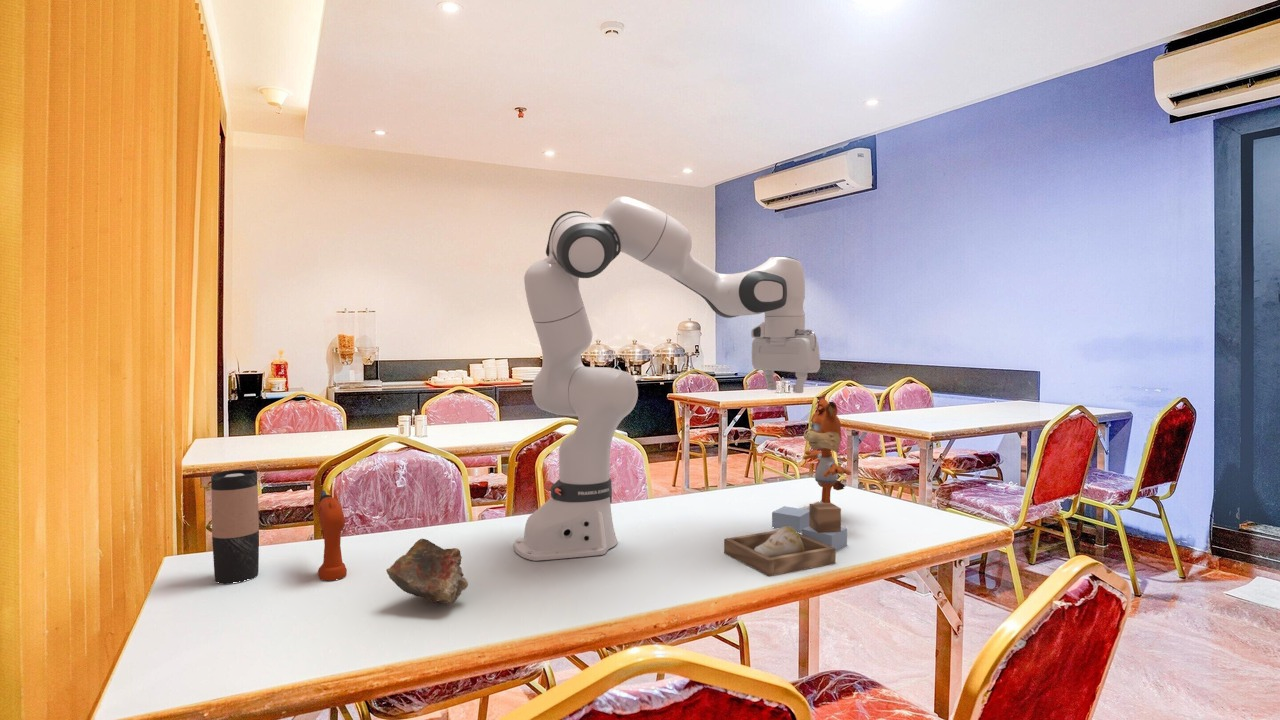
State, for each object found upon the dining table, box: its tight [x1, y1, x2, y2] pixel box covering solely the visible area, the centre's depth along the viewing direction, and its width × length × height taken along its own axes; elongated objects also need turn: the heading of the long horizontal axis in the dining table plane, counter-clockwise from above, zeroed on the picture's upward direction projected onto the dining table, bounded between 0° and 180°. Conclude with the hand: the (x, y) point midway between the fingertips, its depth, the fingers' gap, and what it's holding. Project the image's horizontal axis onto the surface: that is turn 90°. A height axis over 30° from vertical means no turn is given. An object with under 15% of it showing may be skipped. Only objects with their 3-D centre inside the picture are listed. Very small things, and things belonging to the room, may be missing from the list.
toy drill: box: [317, 489, 348, 581], centre depth 133 cm, size 5×19×15 cm, turn 32°
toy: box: [798, 396, 852, 510], centre depth 167 cm, size 30×11×30 cm, turn 178°
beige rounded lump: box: [754, 526, 805, 558], centre depth 135 cm, size 8×10×10 cm
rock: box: [386, 538, 469, 604], centre depth 115 cm, size 12×12×10 cm
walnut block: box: [808, 502, 842, 533], centre depth 145 cm, size 5×5×5 cm
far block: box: [771, 505, 809, 533], centre depth 160 cm, size 7×7×4 cm
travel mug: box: [210, 468, 260, 584], centre depth 127 cm, size 8×8×20 cm
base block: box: [801, 526, 848, 552], centre depth 146 cm, size 7×7×4 cm
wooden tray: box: [723, 530, 837, 577], centre depth 138 cm, size 16×15×3 cm
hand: (784, 391), depth 151 cm, fingers open, 8 cm apart
